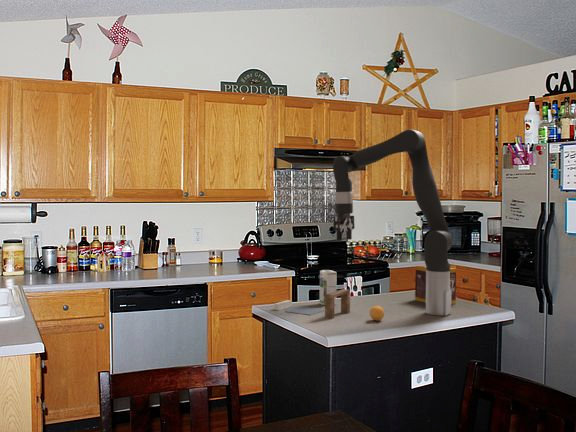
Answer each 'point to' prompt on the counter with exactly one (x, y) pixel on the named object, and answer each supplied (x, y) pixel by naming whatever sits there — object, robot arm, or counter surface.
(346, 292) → the bridge
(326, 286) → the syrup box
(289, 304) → the beige thin bar
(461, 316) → the counter surface
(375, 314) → the ball
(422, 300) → the supplement box
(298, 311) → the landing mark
